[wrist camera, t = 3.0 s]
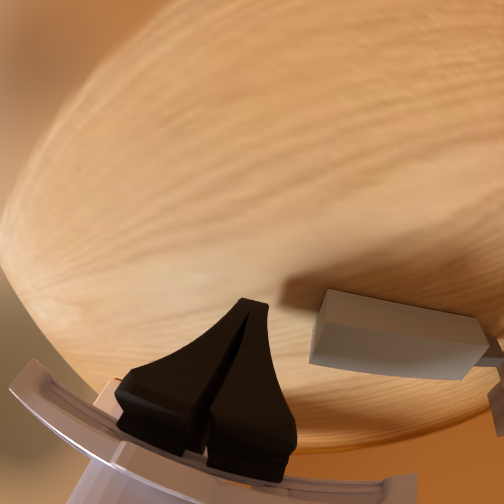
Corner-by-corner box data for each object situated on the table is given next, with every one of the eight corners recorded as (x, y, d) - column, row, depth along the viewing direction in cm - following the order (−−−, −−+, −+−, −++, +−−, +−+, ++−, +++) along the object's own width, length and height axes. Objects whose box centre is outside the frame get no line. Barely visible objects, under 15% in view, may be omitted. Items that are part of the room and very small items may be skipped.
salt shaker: (150, 402, 26) (115, 466, 18) (126, 395, 27) (92, 452, 19) (133, 382, 24) (92, 449, 16) (110, 375, 26) (69, 435, 17)
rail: (312, 330, 14) (308, 363, 12) (327, 288, 13) (326, 321, 11) (480, 354, 12) (489, 379, 10) (503, 322, 11) (516, 347, 9)
